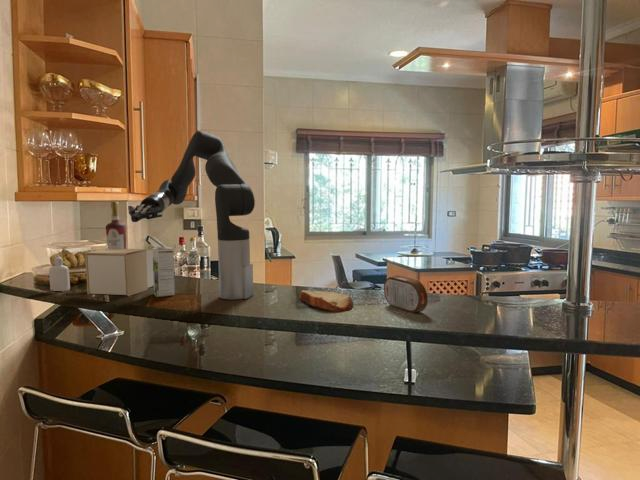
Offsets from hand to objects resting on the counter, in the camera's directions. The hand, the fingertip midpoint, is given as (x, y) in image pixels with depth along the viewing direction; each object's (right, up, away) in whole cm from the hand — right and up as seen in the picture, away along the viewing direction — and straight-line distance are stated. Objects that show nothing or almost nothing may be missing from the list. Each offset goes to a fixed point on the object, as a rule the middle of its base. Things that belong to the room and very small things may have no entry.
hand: (133, 219), depth 162 cm
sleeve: (-1, -24, -10) cm, 25 cm away
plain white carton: (0, -23, -6) cm, 24 cm away
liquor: (-15, -21, +24) cm, 35 cm away
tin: (+85, -25, -37) cm, 96 cm away
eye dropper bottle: (-21, -24, -7) cm, 32 cm away
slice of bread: (+64, -25, -29) cm, 74 cm away
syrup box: (+15, -24, -15) cm, 32 cm away
